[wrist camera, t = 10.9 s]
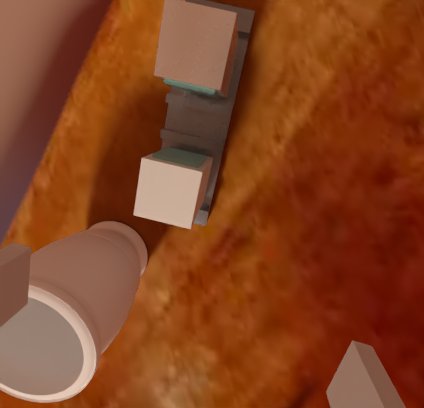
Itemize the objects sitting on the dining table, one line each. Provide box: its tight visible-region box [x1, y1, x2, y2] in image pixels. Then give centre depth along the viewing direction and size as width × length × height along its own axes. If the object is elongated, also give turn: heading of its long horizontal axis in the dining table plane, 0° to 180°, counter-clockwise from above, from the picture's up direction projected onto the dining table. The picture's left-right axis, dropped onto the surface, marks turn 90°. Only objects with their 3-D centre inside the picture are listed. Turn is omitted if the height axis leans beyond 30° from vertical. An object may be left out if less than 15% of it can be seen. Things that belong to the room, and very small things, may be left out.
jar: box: [0, 221, 148, 403], centre depth 28 cm, size 11×10×15 cm
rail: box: [154, 0, 255, 226], centre depth 25 cm, size 20×6×10 cm, turn 168°
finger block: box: [134, 147, 213, 229], centre depth 25 cm, size 5×4×8 cm
